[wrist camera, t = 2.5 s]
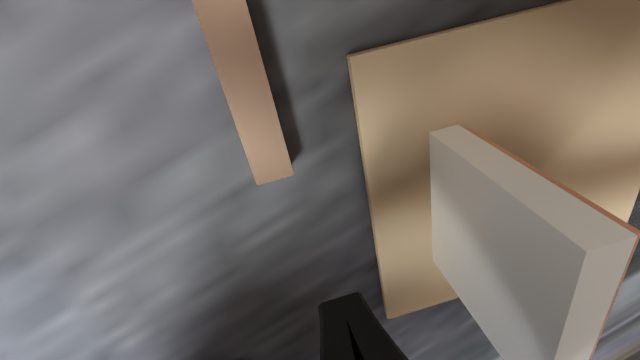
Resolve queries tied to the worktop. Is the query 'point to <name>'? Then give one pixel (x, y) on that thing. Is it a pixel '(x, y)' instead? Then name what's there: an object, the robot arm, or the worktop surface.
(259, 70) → the spatula
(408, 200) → the mat
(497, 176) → the tile
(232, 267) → the worktop surface
